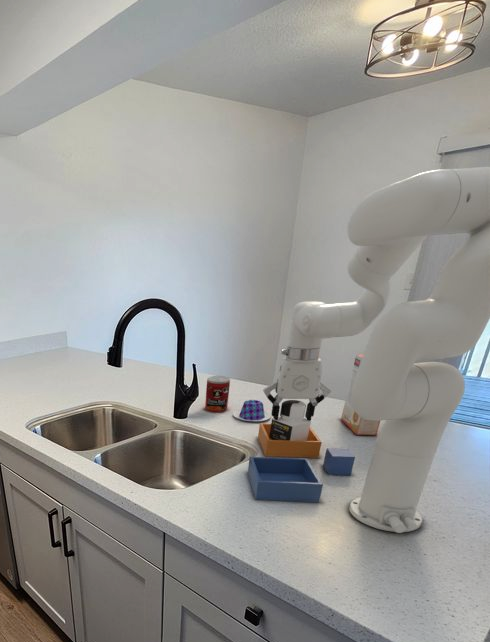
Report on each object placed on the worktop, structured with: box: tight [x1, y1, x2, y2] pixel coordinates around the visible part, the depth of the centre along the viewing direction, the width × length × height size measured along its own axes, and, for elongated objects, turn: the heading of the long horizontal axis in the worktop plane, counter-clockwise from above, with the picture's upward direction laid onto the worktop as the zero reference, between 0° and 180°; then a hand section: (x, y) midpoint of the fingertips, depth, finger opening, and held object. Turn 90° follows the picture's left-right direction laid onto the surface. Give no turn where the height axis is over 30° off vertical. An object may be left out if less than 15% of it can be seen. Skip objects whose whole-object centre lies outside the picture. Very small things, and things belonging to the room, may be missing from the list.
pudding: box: [232, 399, 272, 422], centre depth 145 cm, size 12×12×5 cm
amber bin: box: [257, 422, 322, 459], centre depth 122 cm, size 13×13×5 cm
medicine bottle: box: [269, 399, 312, 441], centre depth 120 cm, size 7×7×12 cm
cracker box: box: [340, 353, 381, 436], centre depth 128 cm, size 14×6×21 cm, turn 168°
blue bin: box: [247, 456, 324, 503], centre depth 102 cm, size 13×13×5 cm
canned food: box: [204, 375, 231, 413], centre depth 152 cm, size 8×8×11 cm
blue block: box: [322, 447, 356, 476], centre depth 108 cm, size 5×5×5 cm
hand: (291, 418), depth 119 cm, fingers closed on medicine bottle, 7 cm apart
